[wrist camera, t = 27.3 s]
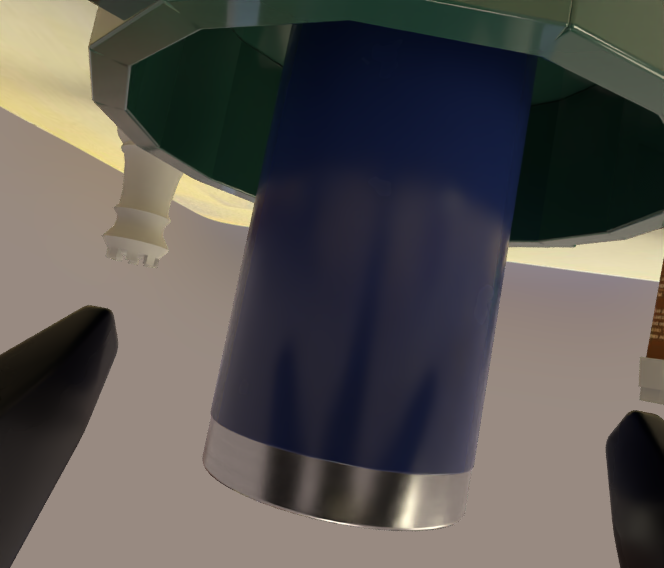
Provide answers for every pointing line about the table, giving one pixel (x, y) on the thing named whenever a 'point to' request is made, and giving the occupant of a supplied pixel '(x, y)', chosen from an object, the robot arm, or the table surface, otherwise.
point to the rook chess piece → (142, 207)
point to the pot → (423, 18)
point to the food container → (654, 354)
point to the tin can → (372, 277)
